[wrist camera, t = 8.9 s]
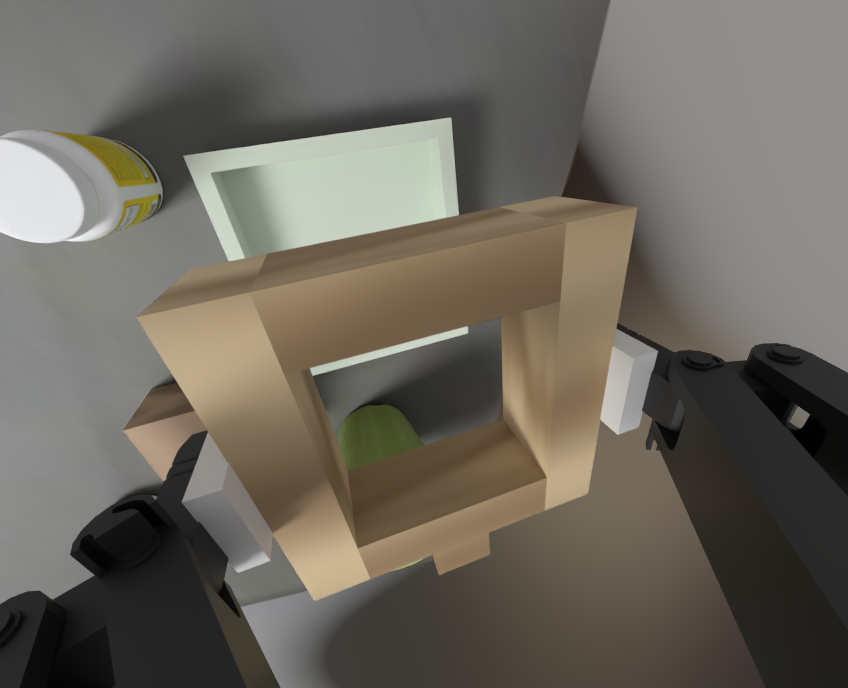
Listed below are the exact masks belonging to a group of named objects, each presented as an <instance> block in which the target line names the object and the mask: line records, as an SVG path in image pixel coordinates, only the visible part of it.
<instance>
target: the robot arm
mask: <svg viewBox="0 0 848 688" xmlns="http://www.w3.org/2000/svg"><path fill="white" fill-rule="evenodd" d="M798 406H799V407H800V408H802V409H803V410H805V411H806V412H808V413H809V414H810V416H809V418H808V419H807V421H806V423H805V425H804V426H803V427H802V428H798V427H796V426H794V425H793V424H792V423H790V422H789V421H790V420H791V418H792V416H793V414H794V412H795V411H796V408H797V407H798ZM643 412H644V413H646V414H647V415H648V416H650V417H651V418H652V423H651V426H650V430H649V434H648V437H647V441H646V449H647V450H651V446H652V443H653V441H654V440H655V441H656V443H657V448H656V450H660V452H661V454H662V456H663V459H664V461H665V463H666V465H667V468H668V469H669V472H670V474H671V477H672V479H673V481H674V483H675V486H676V488H677V490H678V492H679V494H680V497H681V499H682V501H683V503H684V506H685V508H686V510H687V512H688V514H689V517H690V519H691V522H692V524H693V526H694V528H695V530H696V533H697V535H698V537H699V540H700V542H701V544H702V546H703V549H704V551H705V553H706V555H707V558H708V560H709V562H710V564H711V566H712V569H713V571H714V573H715V576H716V578H717V580H718V582H719V584H720V587H721V589H722V591H723V593H724V596H725V598H726V600H727V602H728V605H729V607H730V609H731V611H732V613H733V616H734V618H735V620H736V622H737V625H738V627H739V629H740V632H741V634H742V636H743V638H744V641H745V643H746V645H747V647H748V650H749V652H750V654H751V656H752V659H753V661H754V663H755V665H756V668H757V670H758V672H759V674H760V677H761V679H762V681H763V683H764V686H765V688H848V373H847V372H845V371H843V370H841V369H840V368H837V367H836V366H834V365H832V364H830V363H828V362H827V361H824V360H823V359H820V358H819V357H817V356H815V355H813V354H812V353H809V352H807V351H804V350H802V349H800V348H796V347H792V346H790V345H786V344H778V343H772V344H771V343H770V344H759V345H756V346H754V347H753V348H752V349H751V351H750V354H749V356H748V359H747V360H746V361H732V362H725V361H724V360H722V359H721V358H719V357H717V356H714V355H712V354H709V353H705V352H701V351H692V350H684V351H678V352H675V353H674V352H672V351H670V350H668V349H667V348H665V347H663V346H660V345H659V344H657V343H655V342H653V341H651V340H649V339H647V338H645V337H643V336H641V335H638V334H637V333H636V332H634V331H632V330H628V329H627V328H626V327H624V326H622V325H620V324H618V323H617V328H616V334H615V339H614V345H613V347H612V353H611V359H610V365H609V370H608V376H607V382H606V388H605V394H604V399H603V405H602V411H601V417H600V420H602V421H603V422H604V423H605V424H606V425H607V426H608V427H610V428H611V429H612V430H613V431H614V432H615V433H616V434H617V435H618V434H621V433H624V432H626V431H629V430H632V429H635V428H638V427H639V425H640V421H641V416H642V413H643ZM272 539H273V532H272V531H271V529H270V528H269V526H268V524H267V523H266V521H265V520H264V518H263V516H262V515H261V513H260V512H259V510H258V508H257V507H256V505H255V504H254V502H253V500H252V499H251V497H250V496H249V494H248V492H247V491H246V489H245V488H244V486H243V484H242V483H241V481H240V480H239V478H238V477H237V475H236V473H235V472H234V470H233V469H232V467H231V465H230V464H229V463H228V462H227V461H226V459H225V458H224V456H223V454H222V453H221V451H220V450H219V448H218V447H217V445H216V443H215V442H214V440H213V439H212V437H211V435H210V434H209V432H208V431H207V430H206V431H202V432H199V433H195V434H192V435H191V436H190V437H189V438H188V440H187V441H186V442H185V443H184V444H183V445H182V446H181V447H180V448H179V449H178V452H177V454H176V456H175V458H174V460H173V463H172V467H170V469H169V471H168V474H167V476H166V480H164V482H163V485H162V487H161V489H160V491H159V493H158V496H157V498H156V500H155V499H154V498H153V497H152V496H151V495H142V494H140V495H136V496H132V497H129V498H126V499H124V500H122V501H120V502H118V503H116V504H114V505H112V506H110V507H109V508H107V509H106V510H104V511H103V512H102V513H100V514H99V515H97V516H96V517H95V518H94V519H93V520H92V521H91V522H90V523H89V524H88V525H86V526H85V527H84V528H83V529H82V531H81V532H80V534H79V535H78V536H77V538H76V539H75V541H74V542H73V545H72V549H71V553H70V555H71V556H72V557H73V558H75V559H76V560H77V561H78V562H79V563H81V564H82V565H83V566H84V567H86V568H87V569H88V570H89V571H90V572H92V573H93V574H94V575H95V576H93V577H91V578H90V579H88V580H86V581H84V582H83V583H81V584H79V585H77V586H76V587H74V588H72V589H71V590H69V591H67V592H65V593H64V594H62V595H60V596H58V597H57V598H55V599H53V600H52V599H51V598H49V597H48V596H47V595H45V594H44V593H42V592H41V591H27V592H25V593H22V594H20V595H17V596H15V597H12V598H10V599H8V600H7V601H5V602H3V603H2V604H0V688H280V686H279V684H278V682H277V680H276V678H275V676H274V674H273V672H272V670H271V668H270V666H269V664H268V662H267V660H266V658H265V656H264V654H263V652H262V650H261V648H260V646H259V644H258V642H257V640H256V638H255V636H254V634H253V632H252V630H251V628H250V626H249V624H248V622H247V620H246V618H245V616H244V614H243V611H242V609H241V607H240V605H239V603H238V601H237V599H236V597H235V595H234V593H233V591H232V589H231V587H230V586H229V585H228V584H227V583H226V581H225V580H224V577H225V572H226V567H227V562H228V561H229V562H230V564H231V565H232V566H233V568H234V569H235V570H236V571H237V573H239V572H241V571H244V570H247V569H250V568H252V567H255V566H258V565H261V564H263V563H266V562H269V561H270V559H271V549H272Z"/></svg>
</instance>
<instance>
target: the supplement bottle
mask: <svg viewBox="0 0 848 688" xmlns="http://www.w3.org/2000/svg"><path fill="white" fill-rule="evenodd" d="M162 199H163V190H162V185H161V182H160V179H159V177H158V175H157V173H156V171H155V170H154V168H153V166H152V165H151V164H150V163H149V161H148V160H147V159H146V158H145V157H144V156H142V155H141V154H140V153H139V152H138V151H136V150H135V149H133V148H132V147H130V146H128V145H126V144H124V143H122V142H120V141H117V140H114V139H110V138H105V137H99V136H89V135H80V134H70V133H62V132H52V131H43V130H19V131H13V132H10V133H7V134H5V135H3V136H1V137H0V232H2V233H4V234H7V235H9V236H12V237H14V238H17V239H21V240H25V241H30V242H36V243H53V242H59V241H63V240H66V241H89V240H95V239H98V238H101V237H104V236H106V235H109V234H112V233H114V232H117V231H120V230H123V229H125V228H128V227H130V226H133V225H136V224H138V223H140V222H143V221H146V220H147V219H149V218H151V217H152V216H153V215H155V214H156V212H157V211H158V210H159V208H160V206H161V203H162Z"/></svg>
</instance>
